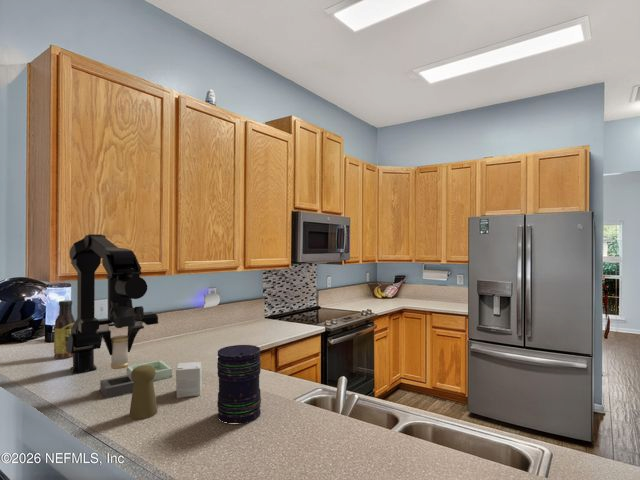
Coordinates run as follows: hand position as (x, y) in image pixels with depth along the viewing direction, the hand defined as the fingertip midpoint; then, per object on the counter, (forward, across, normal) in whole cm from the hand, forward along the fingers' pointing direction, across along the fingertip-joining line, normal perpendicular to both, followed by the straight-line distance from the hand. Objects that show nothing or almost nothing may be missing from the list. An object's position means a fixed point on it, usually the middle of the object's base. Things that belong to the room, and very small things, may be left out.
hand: (119, 353), depth 105 cm
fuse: (+4, 0, 0) cm, 4 cm away
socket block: (+10, 0, 0) cm, 10 cm away
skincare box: (+10, +14, -14) cm, 22 cm away
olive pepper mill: (+10, +1, -20) cm, 22 cm away
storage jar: (+10, +18, -35) cm, 41 cm away
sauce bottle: (+10, -8, +48) cm, 50 cm away
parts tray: (+10, +10, +7) cm, 16 cm away
